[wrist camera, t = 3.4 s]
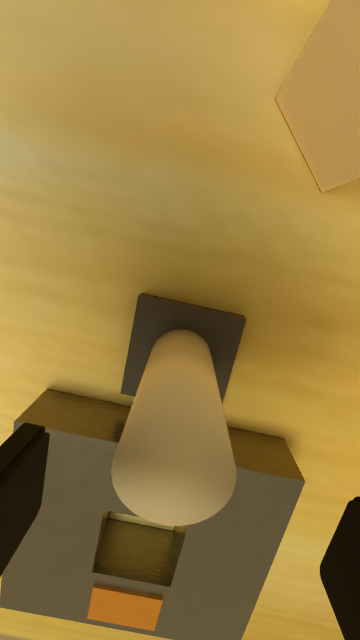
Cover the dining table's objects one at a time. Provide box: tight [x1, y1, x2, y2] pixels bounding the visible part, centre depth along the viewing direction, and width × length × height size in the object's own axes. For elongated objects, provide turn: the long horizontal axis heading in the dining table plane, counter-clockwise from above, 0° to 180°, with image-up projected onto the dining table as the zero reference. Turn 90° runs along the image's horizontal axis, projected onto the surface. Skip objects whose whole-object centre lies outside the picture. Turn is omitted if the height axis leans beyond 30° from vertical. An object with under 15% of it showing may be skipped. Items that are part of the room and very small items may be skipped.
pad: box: [121, 293, 246, 402], centre depth 19 cm, size 7×7×1 cm
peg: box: [111, 329, 237, 526], centre depth 14 cm, size 4×4×10 cm
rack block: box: [0, 389, 305, 640], centre depth 21 cm, size 16×18×4 cm
